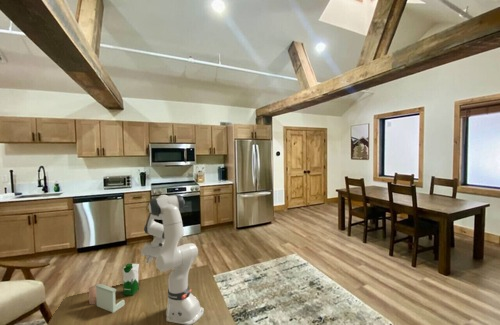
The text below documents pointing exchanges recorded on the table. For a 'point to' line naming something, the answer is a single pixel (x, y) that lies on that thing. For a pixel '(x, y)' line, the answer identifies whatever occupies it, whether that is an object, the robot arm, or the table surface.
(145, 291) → the table surface
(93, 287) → the terracotta jar
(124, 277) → the soya milk
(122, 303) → the display nook
